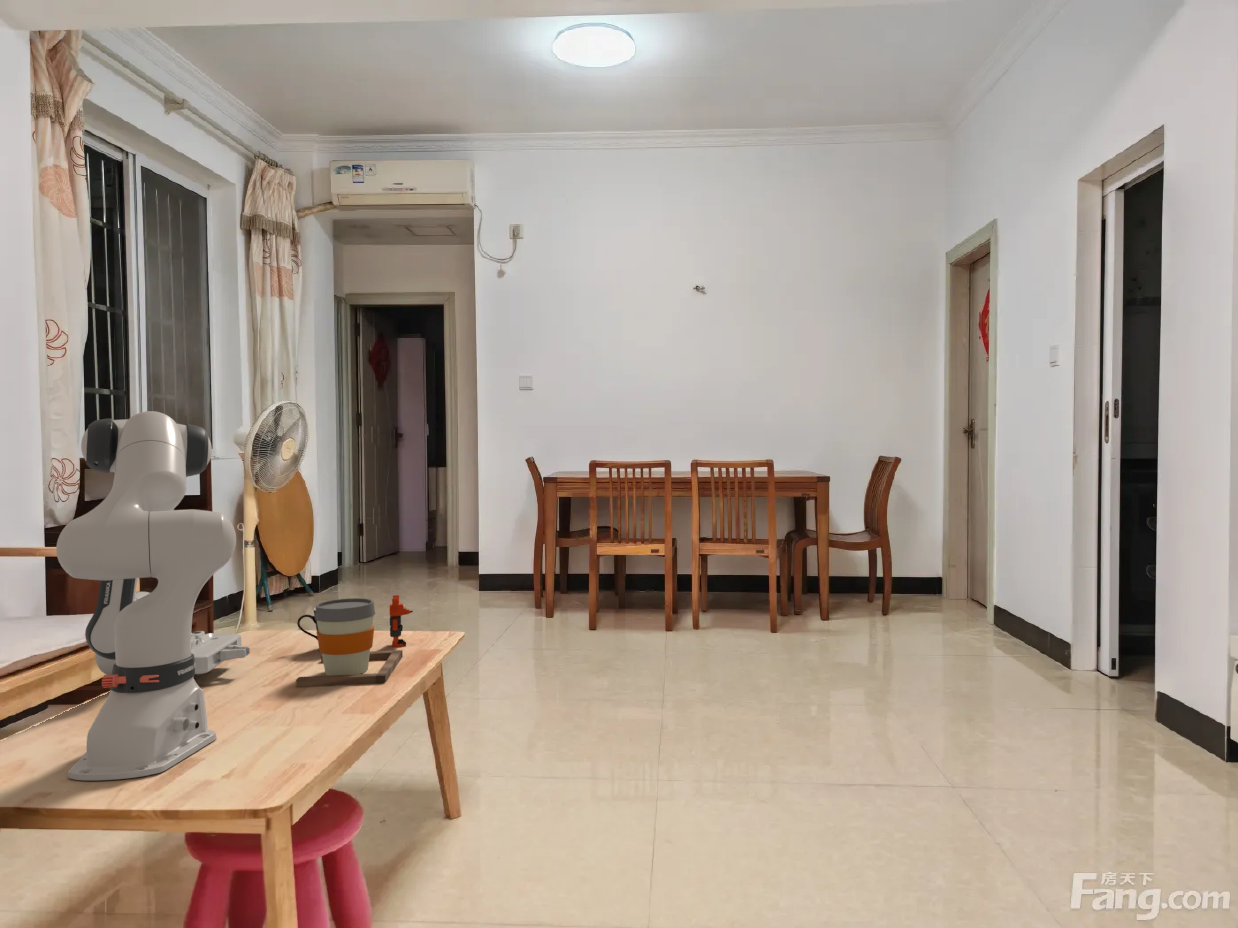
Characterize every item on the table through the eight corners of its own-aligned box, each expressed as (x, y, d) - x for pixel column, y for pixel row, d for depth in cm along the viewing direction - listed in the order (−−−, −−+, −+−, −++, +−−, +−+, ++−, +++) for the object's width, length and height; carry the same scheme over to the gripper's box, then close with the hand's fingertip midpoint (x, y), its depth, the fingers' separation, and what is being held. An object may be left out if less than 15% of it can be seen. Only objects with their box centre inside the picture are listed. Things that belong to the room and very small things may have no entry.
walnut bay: (385, 682, 168) (385, 675, 168) (296, 686, 166) (295, 679, 166) (402, 656, 188) (402, 650, 188) (323, 659, 187) (323, 653, 187)
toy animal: (413, 647, 196) (411, 598, 196) (390, 649, 195) (388, 600, 195) (413, 640, 204) (412, 593, 204) (391, 641, 203) (390, 594, 203)
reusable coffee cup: (387, 670, 177) (385, 602, 177) (332, 683, 168) (330, 611, 168) (359, 660, 186) (358, 595, 185) (306, 671, 177) (304, 604, 177)
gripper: (157, 652, 163) (228, 649, 165) (200, 629, 184) (263, 626, 185) (158, 683, 163) (229, 680, 165) (201, 656, 184) (264, 654, 185)
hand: (247, 651), depth 175 cm, fingers closed
